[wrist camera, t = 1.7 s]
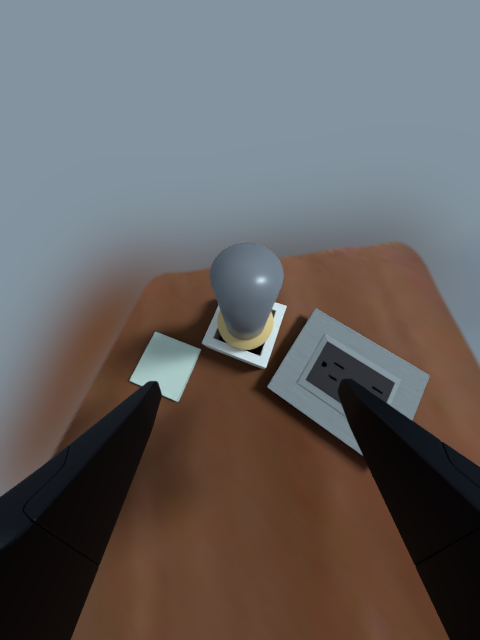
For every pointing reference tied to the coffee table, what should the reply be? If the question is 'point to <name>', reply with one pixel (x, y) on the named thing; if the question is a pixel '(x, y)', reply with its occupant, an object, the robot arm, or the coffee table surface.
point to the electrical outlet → (343, 374)
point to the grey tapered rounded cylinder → (246, 293)
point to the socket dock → (256, 360)
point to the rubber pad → (166, 365)
